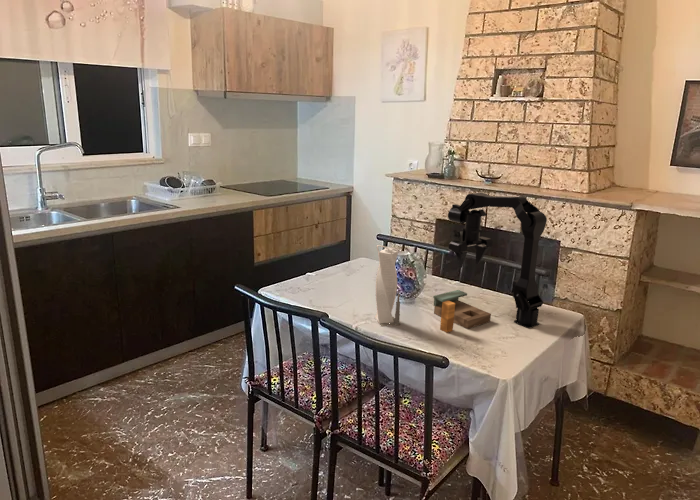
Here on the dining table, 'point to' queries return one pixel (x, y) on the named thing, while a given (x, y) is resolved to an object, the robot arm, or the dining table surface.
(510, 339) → the dining table surface
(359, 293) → the dining table surface
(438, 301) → the socket board
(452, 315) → the peg
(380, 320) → the skyscraper
